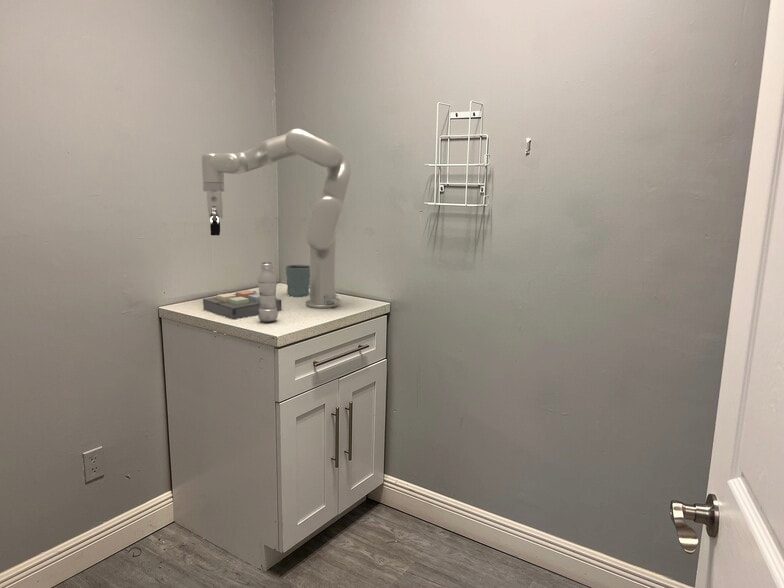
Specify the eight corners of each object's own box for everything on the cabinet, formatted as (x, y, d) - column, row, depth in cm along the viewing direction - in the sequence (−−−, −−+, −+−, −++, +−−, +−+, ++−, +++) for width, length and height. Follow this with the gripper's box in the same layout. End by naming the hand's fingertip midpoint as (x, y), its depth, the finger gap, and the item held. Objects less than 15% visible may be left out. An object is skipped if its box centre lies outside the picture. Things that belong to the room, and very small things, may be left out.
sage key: (249, 305, 207) (248, 298, 206) (236, 307, 203) (236, 300, 203) (241, 303, 210) (240, 296, 209) (228, 305, 206) (228, 298, 206)
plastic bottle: (254, 321, 196) (252, 263, 192) (268, 318, 202) (267, 261, 198) (267, 324, 193) (266, 265, 189) (282, 320, 198) (281, 262, 194)
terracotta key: (255, 298, 218) (255, 292, 217) (243, 300, 214) (243, 294, 214) (247, 296, 221) (247, 290, 221) (236, 298, 217) (235, 292, 217)
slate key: (267, 302, 212) (267, 295, 212) (256, 304, 209) (256, 297, 208) (259, 300, 216) (259, 293, 215) (248, 302, 212) (248, 295, 212)
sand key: (236, 302, 212) (236, 295, 211) (224, 304, 208) (224, 297, 208) (229, 299, 215) (228, 293, 215) (216, 301, 212) (216, 295, 211)
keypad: (281, 310, 213) (281, 299, 212) (233, 319, 199) (233, 308, 198) (250, 301, 226) (250, 291, 226) (203, 309, 212) (203, 298, 211)
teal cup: (281, 295, 240) (280, 266, 238) (299, 291, 248) (298, 263, 246) (298, 298, 234) (297, 269, 232) (316, 294, 242) (315, 266, 240)
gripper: (224, 188, 207) (225, 236, 211) (224, 186, 223) (226, 231, 227) (201, 188, 205) (204, 236, 209) (203, 186, 221) (206, 231, 225)
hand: (215, 233), depth 218 cm, fingers open, 9 cm apart
